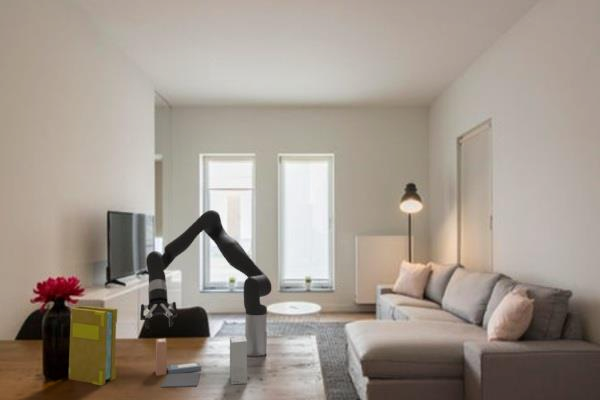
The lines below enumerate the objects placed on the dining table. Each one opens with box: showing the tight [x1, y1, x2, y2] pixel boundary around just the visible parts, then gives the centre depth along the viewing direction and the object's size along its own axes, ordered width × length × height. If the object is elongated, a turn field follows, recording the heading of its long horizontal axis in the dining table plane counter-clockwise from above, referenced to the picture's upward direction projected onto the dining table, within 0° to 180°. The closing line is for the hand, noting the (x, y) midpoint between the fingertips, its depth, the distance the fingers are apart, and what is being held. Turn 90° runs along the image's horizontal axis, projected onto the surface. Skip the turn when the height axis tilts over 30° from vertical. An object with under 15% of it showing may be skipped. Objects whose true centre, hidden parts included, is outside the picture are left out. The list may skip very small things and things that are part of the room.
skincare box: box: [229, 335, 248, 385], centre depth 156 cm, size 8×6×15 cm
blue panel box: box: [166, 361, 202, 374], centre depth 165 cm, size 12×5×2 cm, turn 112°
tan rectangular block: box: [154, 337, 168, 376], centre depth 162 cm, size 4×5×12 cm
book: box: [68, 305, 118, 386], centre depth 155 cm, size 17×7×25 cm, turn 71°
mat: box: [161, 372, 202, 389], centre depth 155 cm, size 12×12×1 cm
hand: (159, 326), depth 172 cm, fingers open, 8 cm apart
